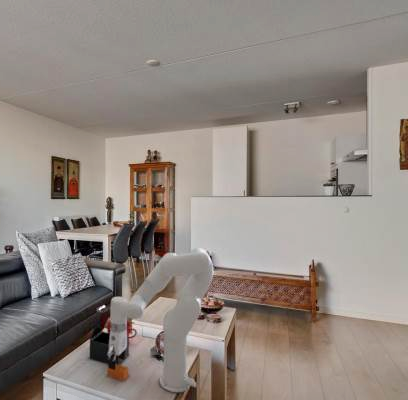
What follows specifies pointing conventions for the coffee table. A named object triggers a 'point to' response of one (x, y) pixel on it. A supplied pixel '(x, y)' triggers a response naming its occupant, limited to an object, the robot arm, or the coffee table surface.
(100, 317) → the bin lid
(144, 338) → the coffee table surface
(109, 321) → the ceramic cup
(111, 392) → the coffee table surface
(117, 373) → the orange block
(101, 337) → the bin
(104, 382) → the coffee table surface
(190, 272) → the robot arm
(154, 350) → the packaged food
